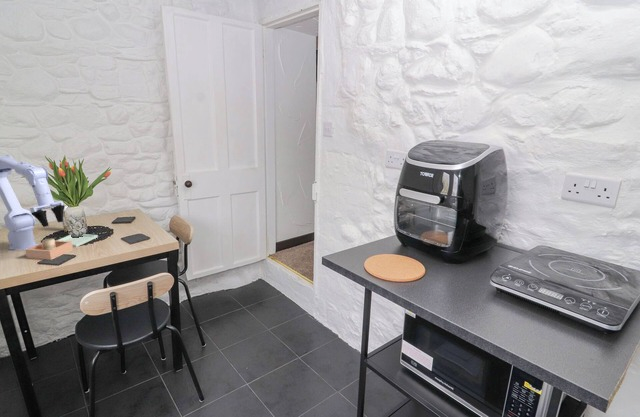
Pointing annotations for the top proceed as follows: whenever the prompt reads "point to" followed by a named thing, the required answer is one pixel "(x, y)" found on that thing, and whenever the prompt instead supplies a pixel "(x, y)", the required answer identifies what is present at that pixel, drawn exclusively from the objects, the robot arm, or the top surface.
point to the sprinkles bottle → (64, 220)
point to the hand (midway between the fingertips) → (53, 224)
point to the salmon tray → (39, 253)
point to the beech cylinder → (48, 244)
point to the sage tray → (79, 239)
